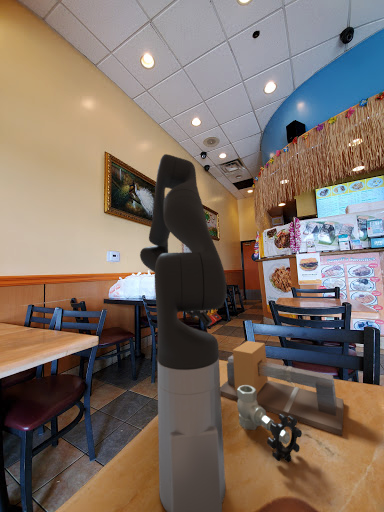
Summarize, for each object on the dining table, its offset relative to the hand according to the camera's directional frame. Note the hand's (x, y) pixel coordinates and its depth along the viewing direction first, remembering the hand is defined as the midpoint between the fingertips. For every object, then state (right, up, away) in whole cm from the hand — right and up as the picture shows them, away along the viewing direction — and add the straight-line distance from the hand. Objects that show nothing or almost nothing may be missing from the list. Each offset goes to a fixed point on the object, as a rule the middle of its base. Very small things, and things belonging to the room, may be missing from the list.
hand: (209, 324), depth 63 cm
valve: (+8, -13, -25) cm, 29 cm away
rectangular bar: (+15, -14, -13) cm, 24 cm away
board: (+15, -14, -13) cm, 24 cm away
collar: (+10, -13, -9) cm, 19 cm away
